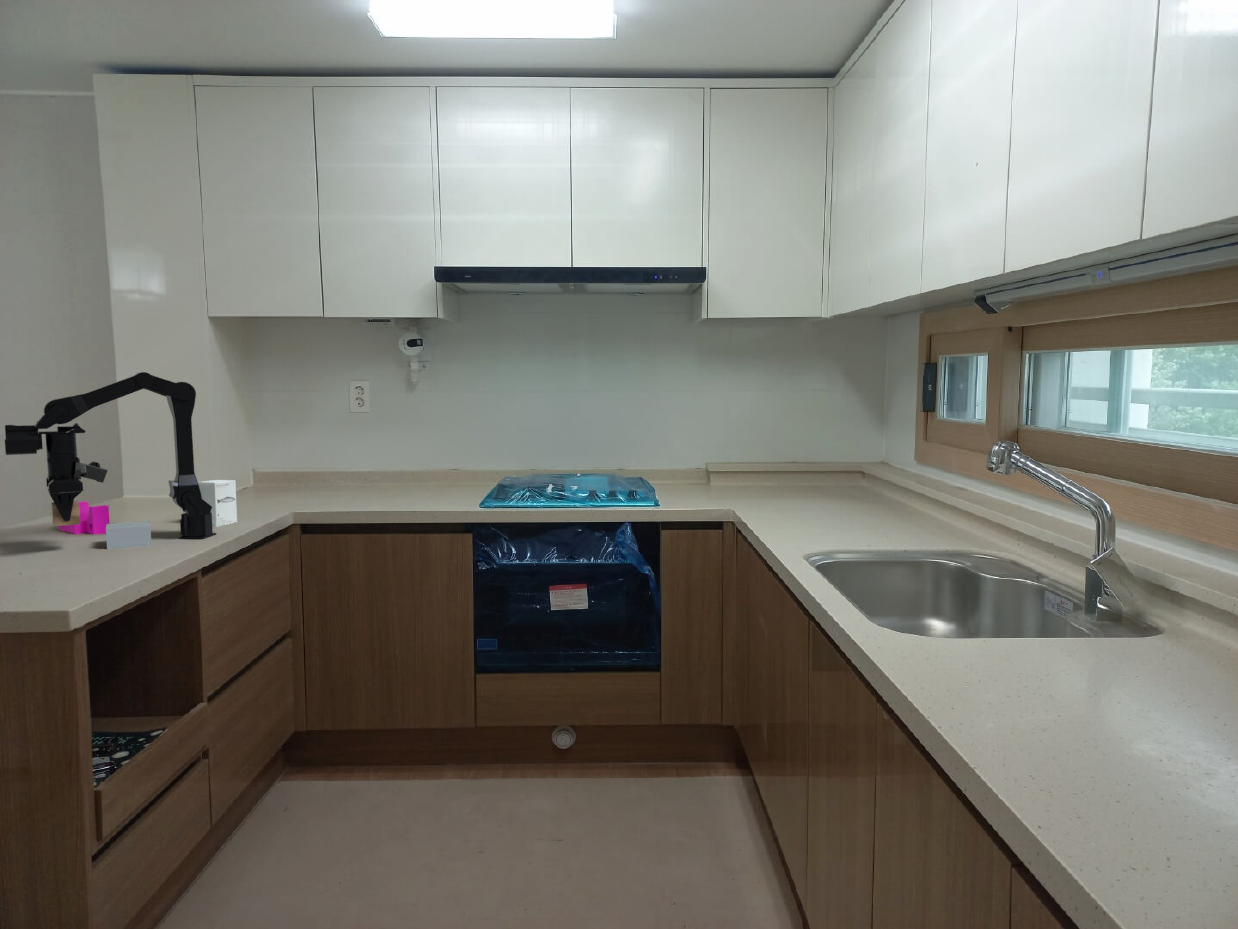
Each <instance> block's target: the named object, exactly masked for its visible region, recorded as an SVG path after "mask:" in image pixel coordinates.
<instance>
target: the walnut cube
mask: <svg viewBox="0 0 1238 929" xmlns="http://www.w3.org/2000/svg"><path fill="white" fill-rule="evenodd" d="M79 502H80V501H78V500H74V502H73V507H72V512H71V518H70V521H64V520H63V518H62V516H61V514H60V512H59V511H58V509H57V507H56V505H55V503H54V502H51V515H52V516H51V517H52V525H53V527H59V526H65V525H77V524H80V510H79Z"/></svg>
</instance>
